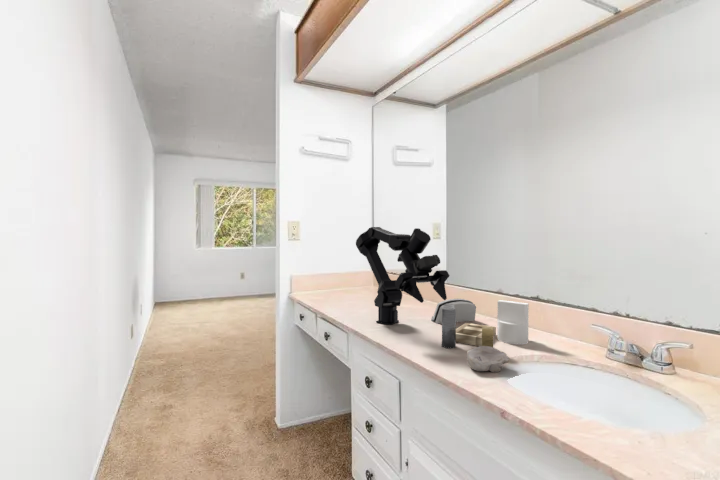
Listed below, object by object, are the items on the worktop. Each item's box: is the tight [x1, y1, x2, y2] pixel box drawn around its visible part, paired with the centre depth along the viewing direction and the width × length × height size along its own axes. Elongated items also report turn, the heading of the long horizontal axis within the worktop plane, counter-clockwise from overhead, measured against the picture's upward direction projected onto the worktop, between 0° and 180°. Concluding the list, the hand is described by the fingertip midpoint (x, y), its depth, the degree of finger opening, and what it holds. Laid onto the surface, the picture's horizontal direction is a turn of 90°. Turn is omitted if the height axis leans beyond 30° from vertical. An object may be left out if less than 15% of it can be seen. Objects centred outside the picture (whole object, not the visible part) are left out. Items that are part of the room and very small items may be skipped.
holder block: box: [456, 322, 497, 347], centre depth 117 cm, size 10×16×2 cm, turn 145°
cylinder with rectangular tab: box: [496, 299, 530, 345], centre depth 114 cm, size 9×9×12 cm
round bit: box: [441, 303, 457, 349], centre depth 108 cm, size 4×4×12 cm
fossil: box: [466, 346, 510, 373], centre depth 90 cm, size 9×6×10 cm
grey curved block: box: [431, 298, 477, 324], centre depth 139 cm, size 17×5×10 cm, turn 107°
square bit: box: [482, 325, 494, 347], centre depth 102 cm, size 3×3×7 cm
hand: (434, 300), depth 113 cm, fingers open, 9 cm apart
